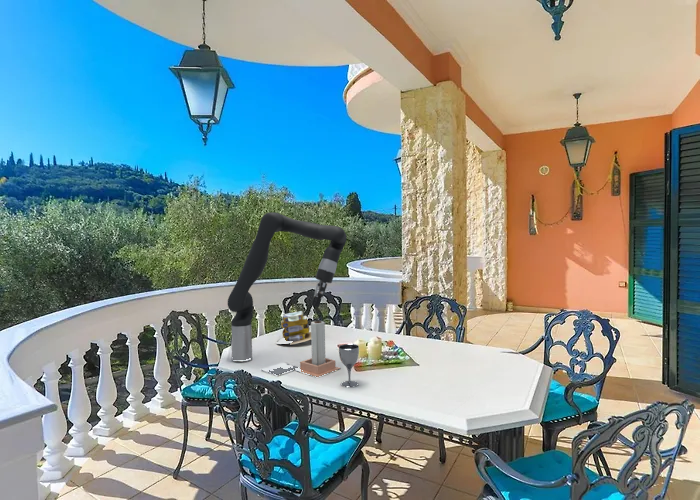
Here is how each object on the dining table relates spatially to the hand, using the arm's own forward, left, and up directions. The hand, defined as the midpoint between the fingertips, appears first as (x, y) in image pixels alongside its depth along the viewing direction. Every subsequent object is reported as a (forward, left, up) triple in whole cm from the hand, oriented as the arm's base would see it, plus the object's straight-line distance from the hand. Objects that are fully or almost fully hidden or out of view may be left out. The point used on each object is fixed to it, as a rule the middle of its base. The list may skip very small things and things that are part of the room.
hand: (314, 306), depth 170 cm
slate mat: (-16, -7, -29) cm, 34 cm away
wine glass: (+20, -1, -29) cm, 36 cm away
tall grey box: (-2, +3, -29) cm, 29 cm away
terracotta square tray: (-2, +3, -29) cm, 29 cm away
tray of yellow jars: (-47, +30, -29) cm, 63 cm away
